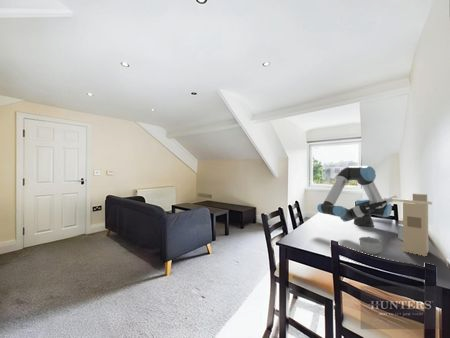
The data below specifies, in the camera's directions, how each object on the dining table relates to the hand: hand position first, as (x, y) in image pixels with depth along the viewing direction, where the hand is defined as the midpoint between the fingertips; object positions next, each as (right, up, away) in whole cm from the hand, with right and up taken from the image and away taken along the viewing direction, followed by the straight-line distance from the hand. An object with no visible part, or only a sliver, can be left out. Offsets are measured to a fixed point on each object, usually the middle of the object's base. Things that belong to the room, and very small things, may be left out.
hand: (394, 198), depth 129 cm
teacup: (-22, -32, -8) cm, 40 cm away
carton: (+6, -32, -7) cm, 33 cm away
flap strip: (+4, -2, -4) cm, 6 cm away
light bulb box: (+18, -32, +10) cm, 38 cm away
